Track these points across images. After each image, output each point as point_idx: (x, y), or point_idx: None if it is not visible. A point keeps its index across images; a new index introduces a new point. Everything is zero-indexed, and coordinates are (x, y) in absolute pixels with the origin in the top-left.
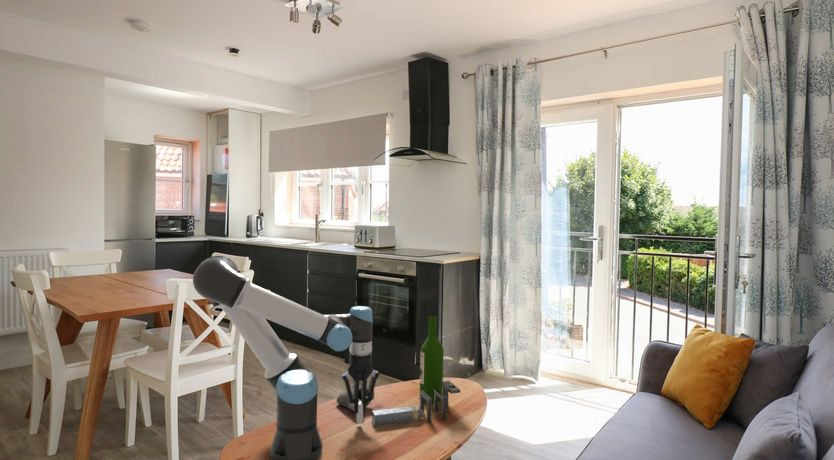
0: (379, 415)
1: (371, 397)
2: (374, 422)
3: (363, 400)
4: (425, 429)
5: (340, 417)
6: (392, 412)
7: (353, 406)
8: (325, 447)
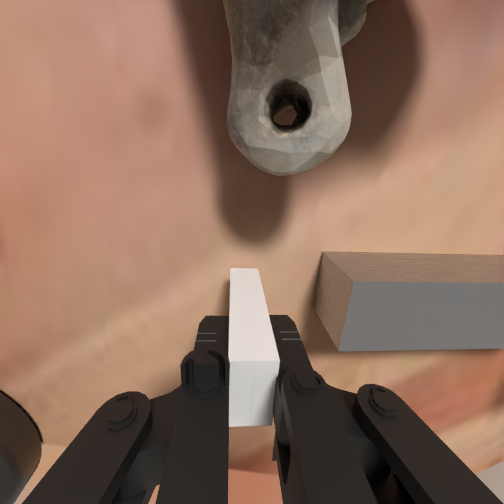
0: (364, 346)
1: (395, 491)
2: (321, 308)
3: (286, 464)
4: (485, 378)
5: (148, 109)
6: (454, 341)
7: (239, 141)
8: (55, 417)
